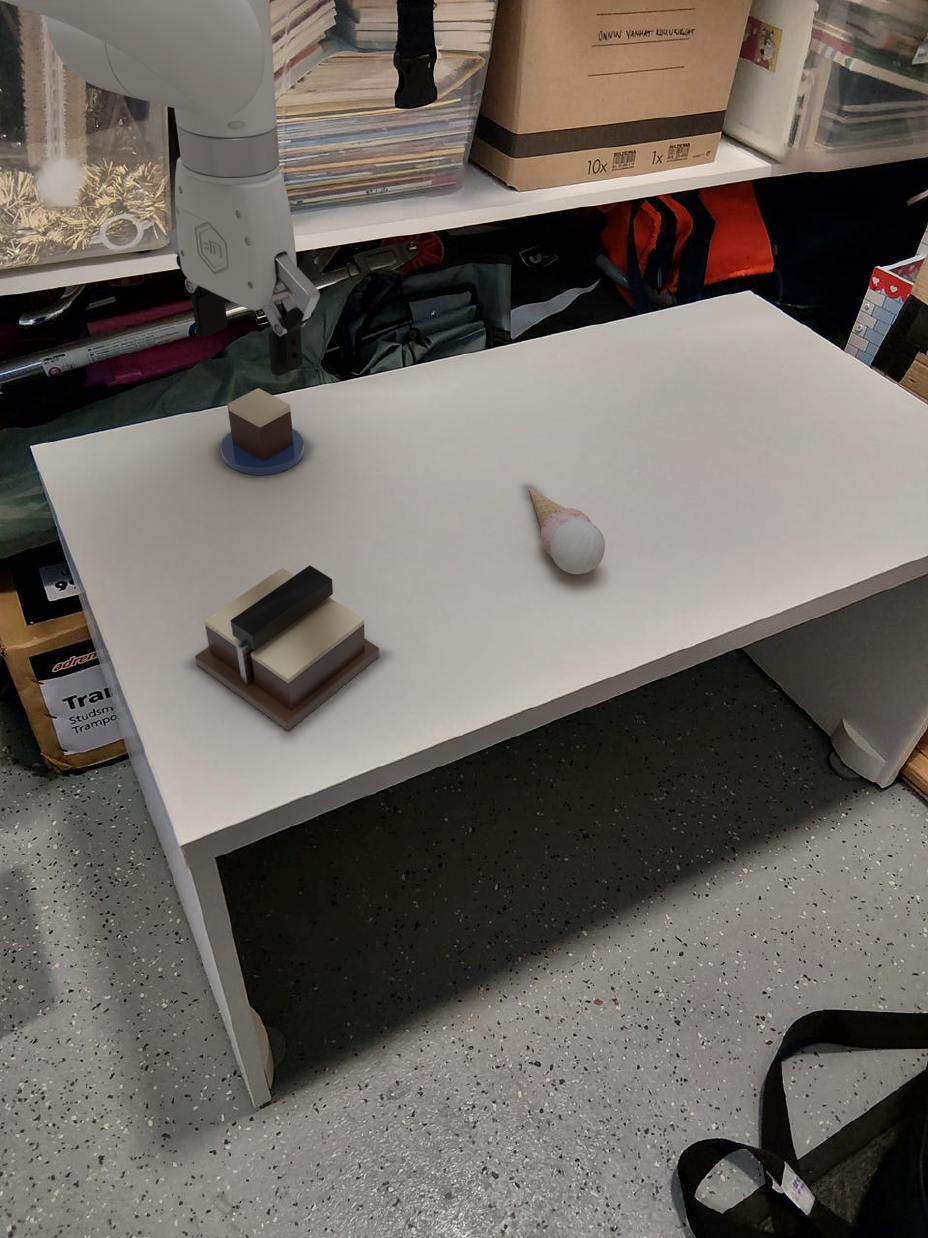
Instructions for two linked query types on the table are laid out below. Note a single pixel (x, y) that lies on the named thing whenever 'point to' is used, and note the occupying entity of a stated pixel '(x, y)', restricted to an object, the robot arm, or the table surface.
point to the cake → (289, 655)
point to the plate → (255, 466)
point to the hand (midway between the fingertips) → (249, 350)
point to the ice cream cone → (568, 536)
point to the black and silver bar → (277, 614)
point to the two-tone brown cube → (260, 424)
